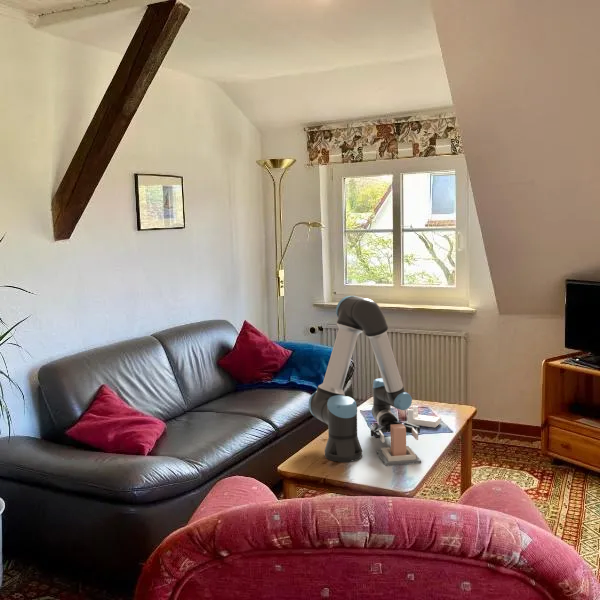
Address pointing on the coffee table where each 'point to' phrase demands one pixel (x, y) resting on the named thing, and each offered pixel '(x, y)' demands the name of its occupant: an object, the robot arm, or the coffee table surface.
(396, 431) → the block
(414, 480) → the coffee table surface
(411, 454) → the seat frame
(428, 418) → the bracket
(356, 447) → the robot arm
